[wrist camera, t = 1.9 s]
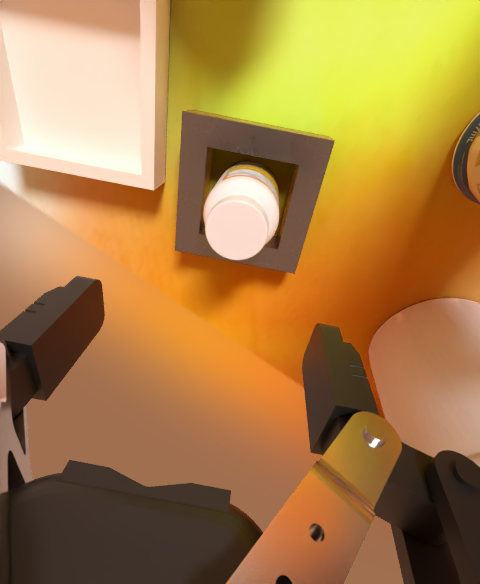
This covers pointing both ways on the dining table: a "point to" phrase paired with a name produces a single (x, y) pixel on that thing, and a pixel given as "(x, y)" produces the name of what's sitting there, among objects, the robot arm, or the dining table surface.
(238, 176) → the supplement bottle
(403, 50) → the dining table surface
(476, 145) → the beverage bottle
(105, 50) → the tray
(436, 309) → the utensil holder
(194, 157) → the socket collar
